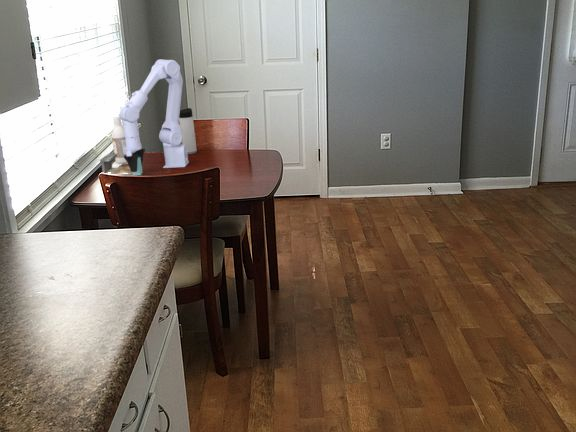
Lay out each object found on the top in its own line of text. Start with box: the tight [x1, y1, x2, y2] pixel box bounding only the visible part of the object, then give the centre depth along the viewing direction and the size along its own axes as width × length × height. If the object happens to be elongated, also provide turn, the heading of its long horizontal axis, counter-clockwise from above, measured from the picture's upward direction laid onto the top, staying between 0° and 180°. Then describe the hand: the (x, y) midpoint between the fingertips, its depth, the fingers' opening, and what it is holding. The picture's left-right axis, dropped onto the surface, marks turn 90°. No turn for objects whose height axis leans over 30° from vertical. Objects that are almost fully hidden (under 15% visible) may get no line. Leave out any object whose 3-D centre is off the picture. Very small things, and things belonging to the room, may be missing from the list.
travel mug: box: [179, 107, 198, 155], centre depth 294 cm, size 6×7×20 cm
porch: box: [99, 153, 133, 174], centre depth 270 cm, size 13×10×7 cm
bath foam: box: [111, 116, 127, 164], centre depth 286 cm, size 7×7×20 cm
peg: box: [132, 157, 143, 176], centre depth 265 cm, size 3×3×7 cm
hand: (136, 169), depth 265 cm, fingers open, 7 cm apart
